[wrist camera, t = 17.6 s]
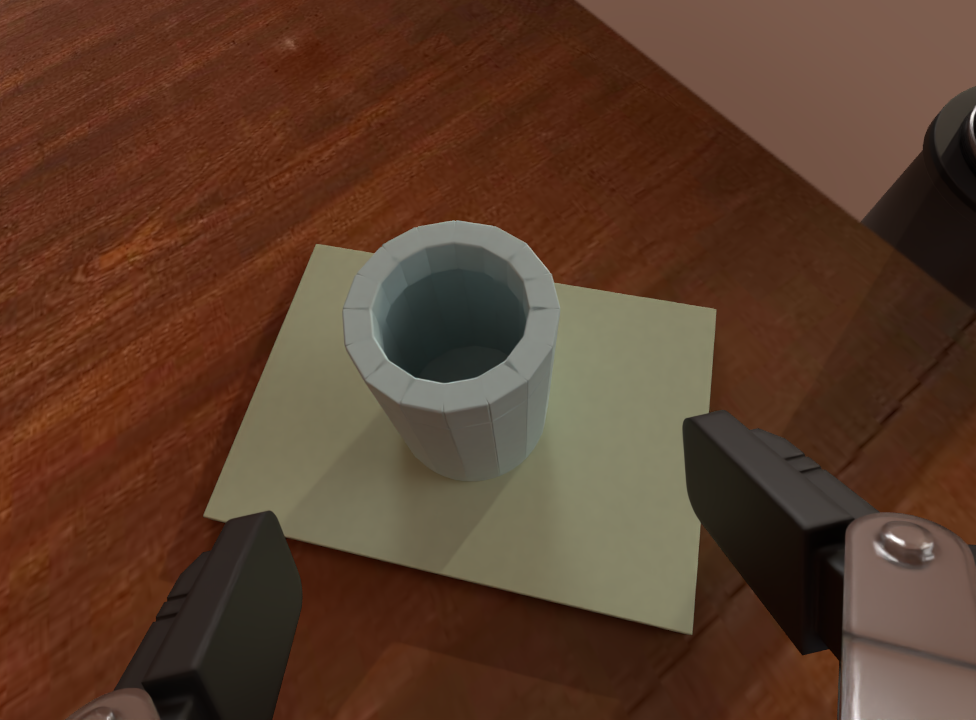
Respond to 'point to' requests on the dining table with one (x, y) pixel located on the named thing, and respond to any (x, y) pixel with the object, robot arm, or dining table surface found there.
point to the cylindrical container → (457, 344)
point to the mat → (507, 498)
